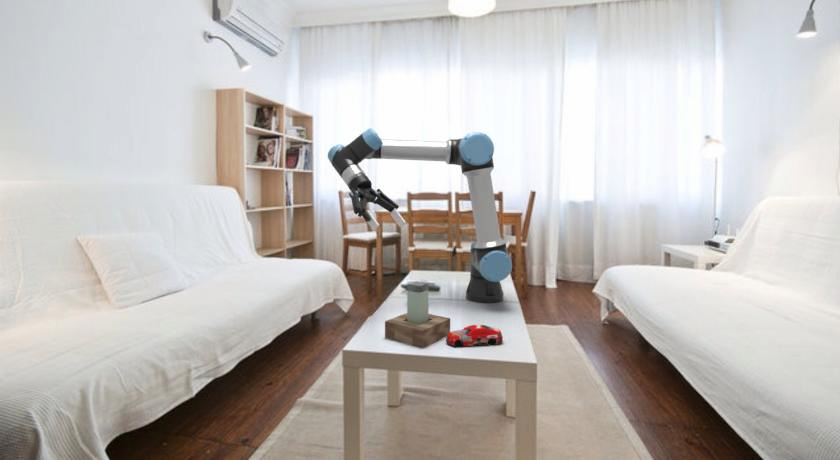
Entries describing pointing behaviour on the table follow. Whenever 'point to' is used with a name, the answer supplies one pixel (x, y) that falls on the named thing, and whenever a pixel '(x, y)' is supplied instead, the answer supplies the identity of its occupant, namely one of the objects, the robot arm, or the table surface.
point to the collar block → (417, 330)
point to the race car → (475, 336)
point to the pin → (417, 302)
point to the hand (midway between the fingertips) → (390, 226)
